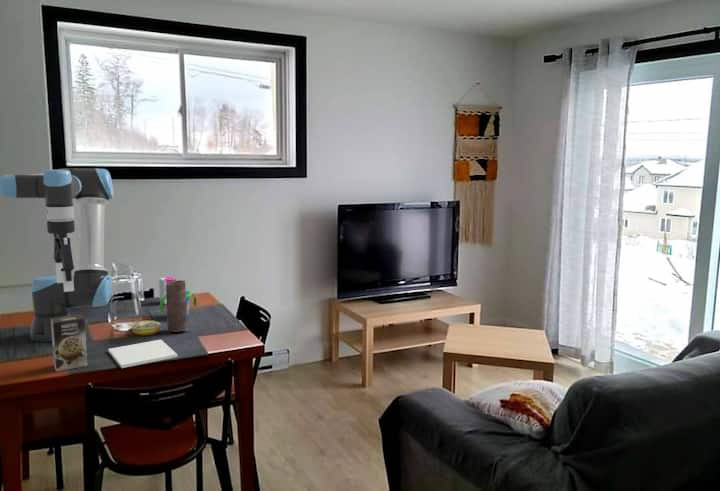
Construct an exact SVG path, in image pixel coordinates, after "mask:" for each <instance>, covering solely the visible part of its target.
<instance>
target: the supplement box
mask: <svg viewBox="0 0 720 491" xmlns="http://www.w3.org/2000/svg"><path fill="white" fill-rule="evenodd" d="M158 281H159V282H158V285H159V286H158V287H159V288H158V289H159V303H160V302H161V299H162V298H163V297H164V296H165V294H166V284H167V283H168V282H169V281H177V279H176V278H174V277H173V276H166V277H159V278H158ZM165 305H166V306H167V300H166V299H165V300H164V301H163V306H165Z"/></svg>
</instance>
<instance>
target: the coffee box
mask: <svg viewBox="0 0 720 491" xmlns="http://www.w3.org/2000/svg"><path fill="white" fill-rule="evenodd" d="M51 330H52V341H51V343H52V344H51V345H52V358H53V359H52V361H53V364H52V365H53V367H54V369H55V371H56V372H61V371H62V372H63V371H66V370H71V369H77V368H82V367H87V366H88V359H87V356H88V355H87V339H86V337H87V336H86V321H85V318H84V316H83V315H82V314H80V313H79V314H73V315H70V316H64V317H56V318H51Z"/></svg>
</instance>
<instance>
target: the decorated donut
mask: <svg viewBox="0 0 720 491" xmlns="http://www.w3.org/2000/svg"><path fill="white" fill-rule="evenodd" d="M161 327H162V324H161V322H159V321H156V320H140V321H138V322H136V323H134V324H132V326H131V331H132V333H133V334H134V335H137V336H152V335H155V334H156V333H158V332H159V331H160V330H161Z"/></svg>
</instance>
